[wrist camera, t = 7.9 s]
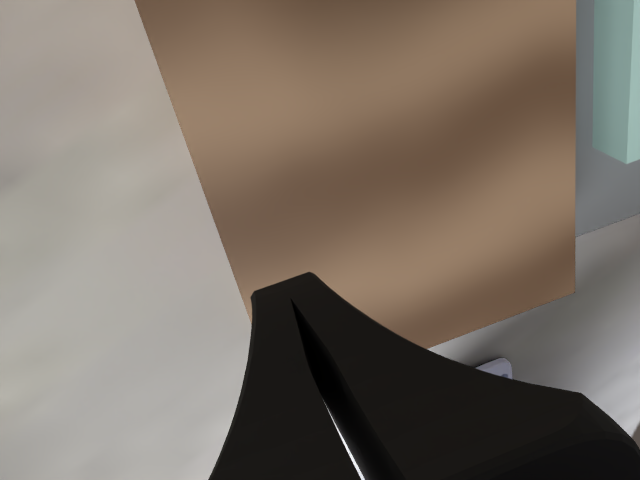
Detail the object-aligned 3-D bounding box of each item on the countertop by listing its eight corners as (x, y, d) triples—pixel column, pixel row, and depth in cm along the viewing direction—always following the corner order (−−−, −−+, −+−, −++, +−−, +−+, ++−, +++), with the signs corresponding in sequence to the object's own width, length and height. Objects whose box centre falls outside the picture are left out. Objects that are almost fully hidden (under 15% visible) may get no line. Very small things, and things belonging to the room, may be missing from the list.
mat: (700, 186, 28) (705, 189, 28) (528, 250, 27) (532, 253, 27) (753, -238, 20) (761, -240, 20) (509, -174, 19) (514, -175, 18)
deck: (517, 244, 27) (574, 292, 23) (259, 338, 25) (280, 404, 22) (495, -152, 19) (576, -165, 16) (119, -51, 17) (119, -42, 14)
